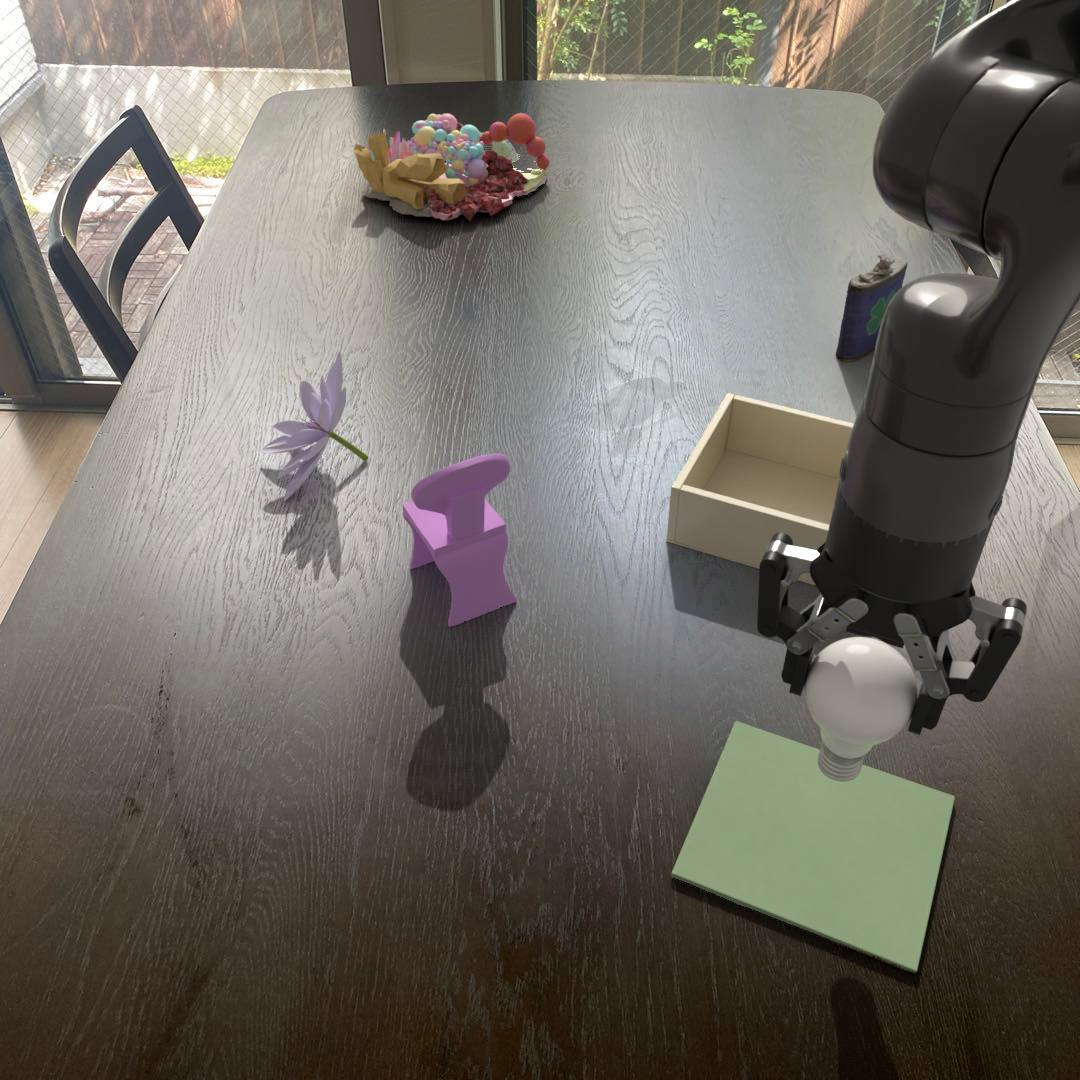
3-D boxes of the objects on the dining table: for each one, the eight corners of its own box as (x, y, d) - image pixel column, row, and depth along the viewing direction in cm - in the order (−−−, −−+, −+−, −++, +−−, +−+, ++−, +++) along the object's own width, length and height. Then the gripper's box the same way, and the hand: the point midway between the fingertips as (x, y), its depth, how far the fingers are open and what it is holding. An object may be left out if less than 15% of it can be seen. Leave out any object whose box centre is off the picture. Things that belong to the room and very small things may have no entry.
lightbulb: (779, 797, 67) (805, 682, 60) (794, 720, 72) (821, 604, 64) (883, 824, 66) (924, 710, 58) (892, 744, 70) (932, 628, 63)
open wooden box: (879, 486, 102) (893, 432, 98) (839, 592, 91) (853, 537, 87) (720, 445, 107) (727, 392, 103) (666, 541, 96) (670, 486, 92)
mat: (953, 801, 76) (955, 796, 76) (915, 976, 67) (917, 971, 66) (734, 725, 81) (735, 720, 81) (670, 877, 72) (671, 873, 71)
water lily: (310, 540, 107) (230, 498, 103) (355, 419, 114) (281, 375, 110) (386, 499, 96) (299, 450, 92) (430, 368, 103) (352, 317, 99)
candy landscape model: (474, 240, 140) (470, 170, 134) (330, 201, 149) (320, 135, 142) (568, 169, 156) (568, 104, 149) (433, 138, 165) (428, 76, 158)
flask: (877, 324, 123) (897, 237, 116) (899, 334, 122) (921, 247, 114) (829, 355, 119) (847, 267, 111) (851, 366, 117) (871, 277, 110)
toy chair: (482, 536, 97) (473, 398, 87) (527, 597, 91) (524, 456, 81) (396, 567, 94) (377, 428, 84) (438, 632, 89) (422, 491, 78)
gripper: (1081, 481, 53) (990, 698, 65) (795, 411, 58) (757, 625, 69) (1066, 577, 48) (970, 794, 60) (754, 493, 53) (720, 709, 64)
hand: (856, 702), depth 64 cm, fingers closed on lightbulb, 6 cm apart
